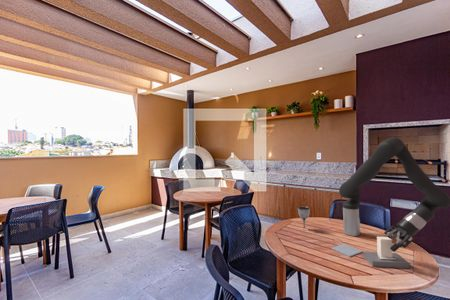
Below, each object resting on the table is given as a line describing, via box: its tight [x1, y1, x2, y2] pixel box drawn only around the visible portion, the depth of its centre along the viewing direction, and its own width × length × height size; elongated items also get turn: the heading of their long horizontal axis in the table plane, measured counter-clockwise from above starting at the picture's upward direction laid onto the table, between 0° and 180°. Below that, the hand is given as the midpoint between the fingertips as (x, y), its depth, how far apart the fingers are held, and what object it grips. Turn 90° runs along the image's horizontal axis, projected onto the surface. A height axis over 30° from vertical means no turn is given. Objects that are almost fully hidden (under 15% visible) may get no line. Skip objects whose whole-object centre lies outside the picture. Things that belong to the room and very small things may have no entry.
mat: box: [330, 243, 364, 258], centre depth 122 cm, size 11×11×1 cm
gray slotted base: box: [362, 251, 411, 269], centre depth 109 cm, size 16×10×3 cm, turn 81°
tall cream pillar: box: [376, 236, 393, 258], centre depth 109 cm, size 5×4×12 cm
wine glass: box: [297, 206, 311, 228], centre depth 157 cm, size 8×8×15 cm
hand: (386, 246), depth 109 cm, fingers open, 8 cm apart
